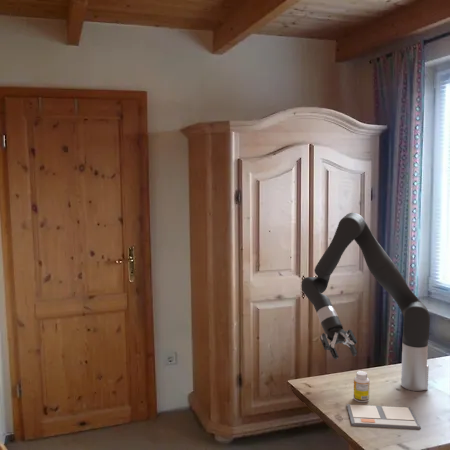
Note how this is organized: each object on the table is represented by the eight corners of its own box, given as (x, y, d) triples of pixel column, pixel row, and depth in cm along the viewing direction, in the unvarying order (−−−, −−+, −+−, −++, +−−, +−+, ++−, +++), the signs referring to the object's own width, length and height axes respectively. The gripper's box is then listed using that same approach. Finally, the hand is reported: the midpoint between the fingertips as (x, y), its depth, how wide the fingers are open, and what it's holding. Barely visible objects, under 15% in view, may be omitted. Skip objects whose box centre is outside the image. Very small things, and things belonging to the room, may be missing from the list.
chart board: (410, 409, 178) (410, 406, 178) (420, 429, 164) (420, 425, 164) (346, 406, 181) (346, 403, 181) (351, 425, 167) (351, 422, 167)
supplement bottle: (357, 395, 190) (358, 368, 189) (371, 399, 186) (372, 372, 185) (350, 400, 186) (351, 373, 185) (365, 404, 182) (365, 377, 181)
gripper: (318, 317, 197) (334, 355, 188) (348, 313, 203) (365, 349, 193) (310, 326, 203) (326, 363, 193) (340, 322, 208) (356, 358, 199)
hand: (346, 356), depth 193 cm, fingers open, 8 cm apart
